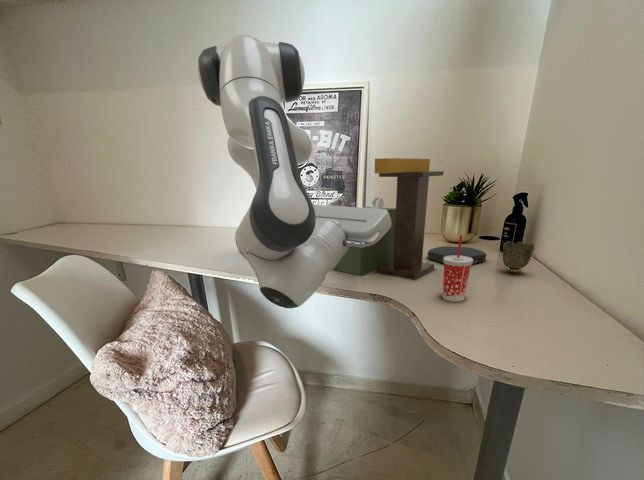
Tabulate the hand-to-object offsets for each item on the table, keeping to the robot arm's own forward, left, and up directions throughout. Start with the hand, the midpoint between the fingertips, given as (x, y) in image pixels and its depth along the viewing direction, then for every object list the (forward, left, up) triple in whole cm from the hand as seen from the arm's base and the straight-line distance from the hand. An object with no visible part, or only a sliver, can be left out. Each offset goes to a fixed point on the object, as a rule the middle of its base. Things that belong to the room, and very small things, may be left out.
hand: (361, 199), depth 71 cm
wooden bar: (0, +18, +5) cm, 19 cm away
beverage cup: (+19, +9, -21) cm, 30 cm away
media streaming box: (+7, +42, -21) cm, 48 cm away
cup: (+25, +37, -21) cm, 50 cm away
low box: (-13, +20, -21) cm, 32 cm away
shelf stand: (0, +22, -21) cm, 30 cm away
